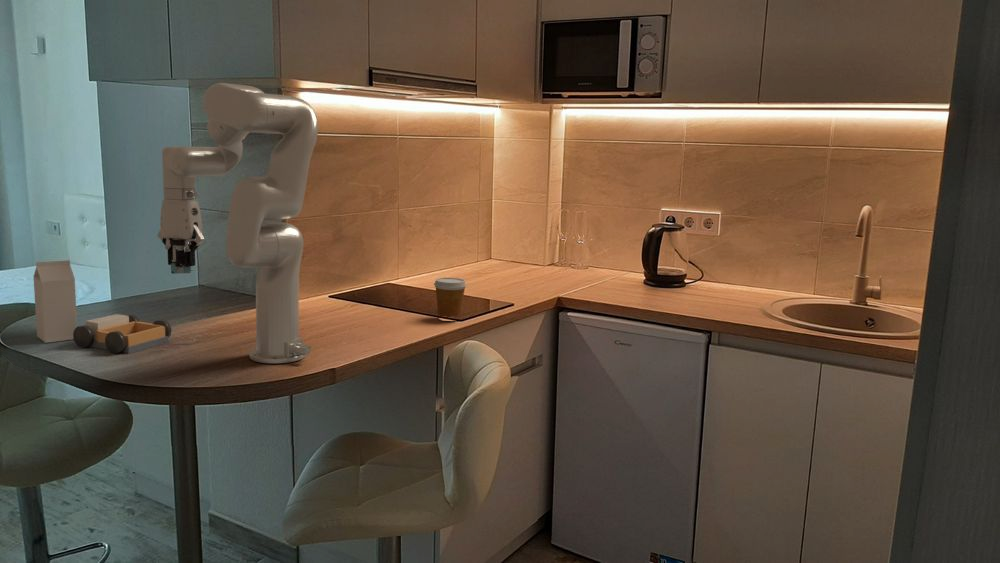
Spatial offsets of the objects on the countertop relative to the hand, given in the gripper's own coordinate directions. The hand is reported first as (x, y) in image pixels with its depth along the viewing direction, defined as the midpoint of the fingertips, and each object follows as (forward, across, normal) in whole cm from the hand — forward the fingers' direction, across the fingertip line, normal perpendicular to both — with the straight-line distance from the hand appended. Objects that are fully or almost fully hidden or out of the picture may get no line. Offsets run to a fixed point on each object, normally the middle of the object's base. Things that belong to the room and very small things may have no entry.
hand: (181, 264), depth 196 cm
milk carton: (+17, +17, +24) cm, 34 cm away
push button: (+2, -1, 0) cm, 2 cm away
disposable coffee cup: (+18, -56, -47) cm, 75 cm away
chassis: (+17, 0, +19) cm, 25 cm away
